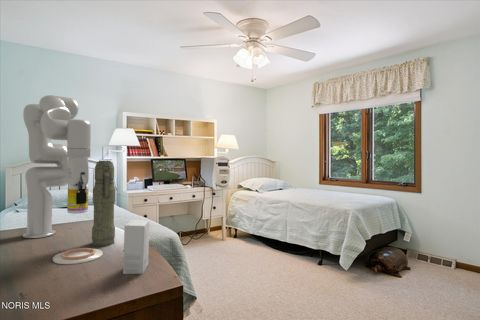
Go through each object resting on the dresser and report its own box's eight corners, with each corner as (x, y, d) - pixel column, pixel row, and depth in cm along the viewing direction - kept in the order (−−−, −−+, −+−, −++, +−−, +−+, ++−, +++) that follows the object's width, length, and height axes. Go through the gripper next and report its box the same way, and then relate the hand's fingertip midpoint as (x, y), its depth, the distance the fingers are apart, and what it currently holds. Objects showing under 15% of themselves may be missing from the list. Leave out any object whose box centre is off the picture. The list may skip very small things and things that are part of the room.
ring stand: (47, 256, 109) (47, 251, 109) (94, 247, 120) (94, 243, 120) (59, 267, 97) (59, 263, 97) (109, 257, 109) (109, 252, 109)
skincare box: (129, 265, 101) (130, 219, 101) (149, 265, 102) (150, 219, 102) (122, 274, 93) (123, 224, 93) (144, 274, 93) (144, 224, 93)
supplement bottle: (78, 214, 105) (79, 178, 105) (62, 213, 106) (63, 177, 106) (92, 211, 111) (92, 177, 111) (76, 210, 113) (77, 176, 113)
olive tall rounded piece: (96, 248, 119) (98, 161, 119) (88, 242, 128) (89, 160, 127) (119, 244, 125) (120, 161, 125) (109, 238, 133) (110, 160, 133)
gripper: (60, 153, 112) (60, 200, 112) (74, 153, 100) (73, 206, 100) (82, 154, 118) (81, 199, 118) (97, 153, 105) (97, 204, 105)
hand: (78, 202), depth 109 cm, fingers closed on supplement bottle, 6 cm apart
